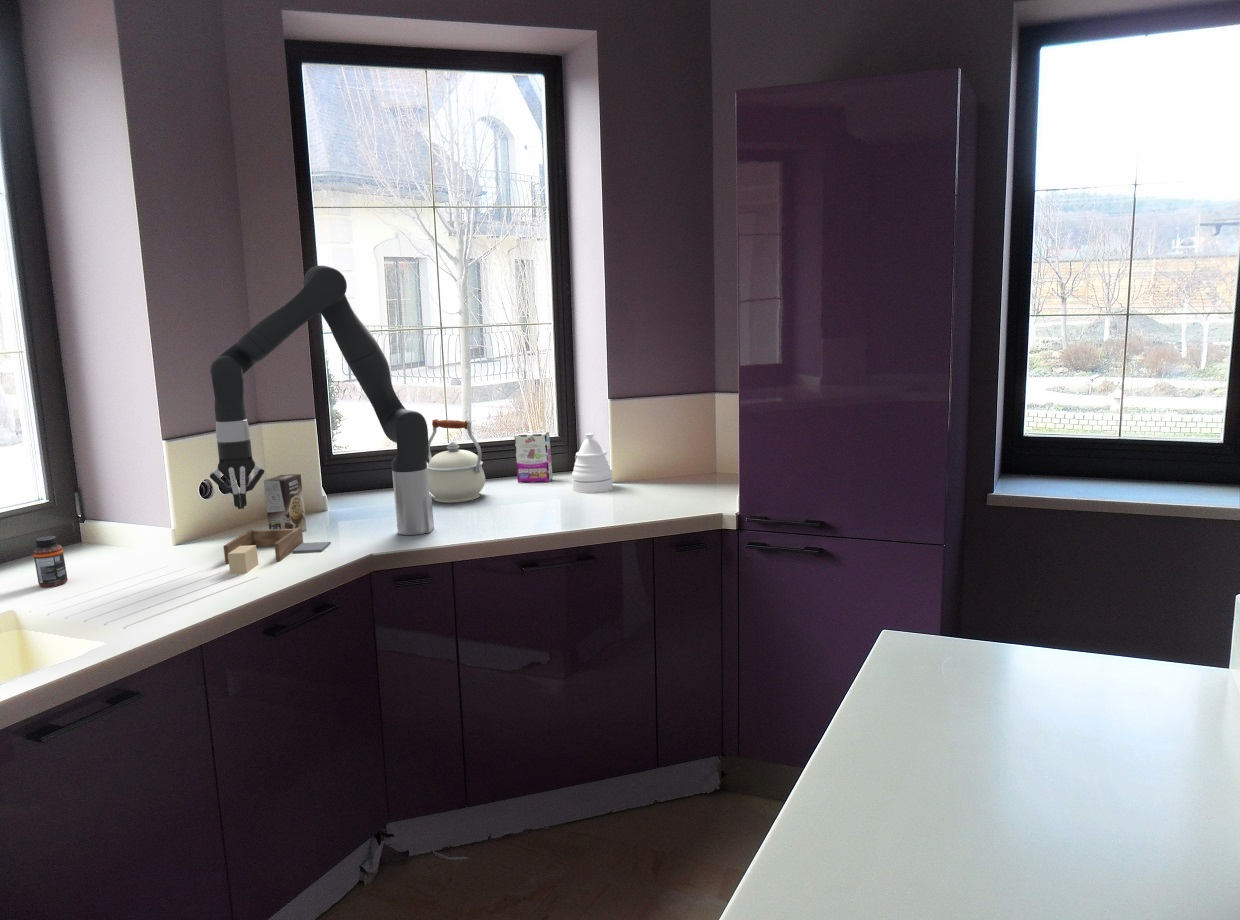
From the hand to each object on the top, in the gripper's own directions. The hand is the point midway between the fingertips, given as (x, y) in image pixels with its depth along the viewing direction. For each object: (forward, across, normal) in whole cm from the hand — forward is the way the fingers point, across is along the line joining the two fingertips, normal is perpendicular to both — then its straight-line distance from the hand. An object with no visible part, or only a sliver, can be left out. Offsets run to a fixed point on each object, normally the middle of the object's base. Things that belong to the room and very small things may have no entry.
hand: (241, 508), depth 229 cm
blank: (+14, -1, -7) cm, 15 cm away
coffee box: (+14, +11, +24) cm, 30 cm away
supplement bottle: (+14, -42, +4) cm, 45 cm away
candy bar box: (+12, +92, +55) cm, 108 cm away
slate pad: (+13, +16, +4) cm, 21 cm away
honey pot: (+12, +104, +32) cm, 109 cm away
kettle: (+13, +62, +45) cm, 77 cm away
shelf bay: (+14, +4, +6) cm, 15 cm away
